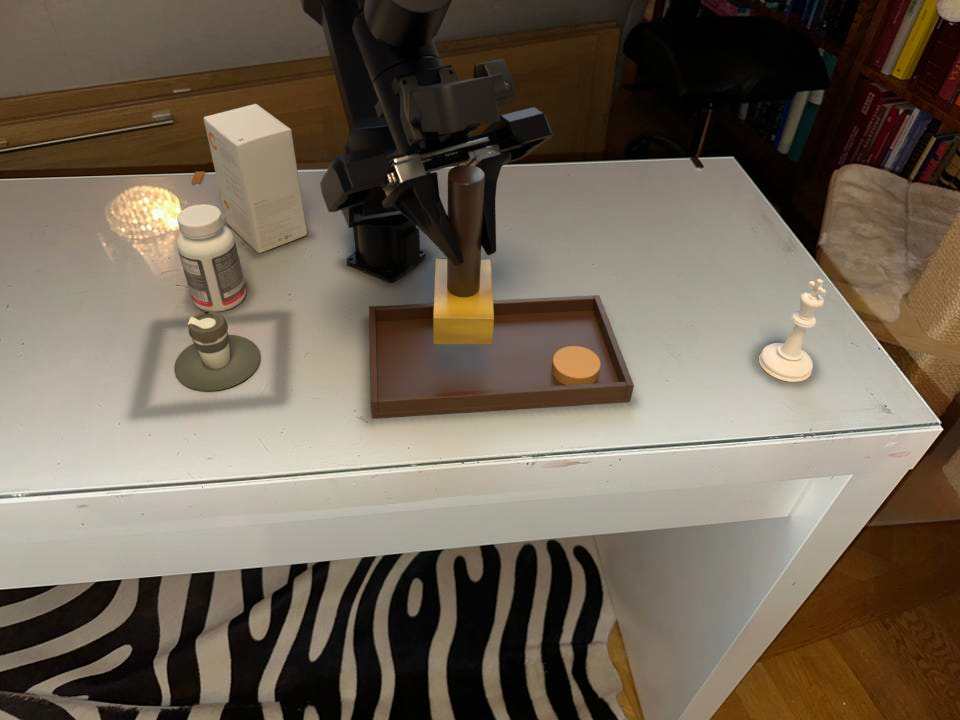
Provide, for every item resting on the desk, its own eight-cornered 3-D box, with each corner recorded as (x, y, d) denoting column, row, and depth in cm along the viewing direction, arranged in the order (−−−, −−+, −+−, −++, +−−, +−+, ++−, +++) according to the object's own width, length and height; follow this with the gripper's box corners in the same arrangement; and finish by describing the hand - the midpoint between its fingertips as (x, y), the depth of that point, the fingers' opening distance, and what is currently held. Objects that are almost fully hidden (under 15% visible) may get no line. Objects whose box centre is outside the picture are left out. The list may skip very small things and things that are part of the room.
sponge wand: (435, 284, 69) (434, 146, 59) (489, 285, 70) (497, 148, 60) (433, 344, 64) (432, 202, 54) (492, 344, 64) (501, 204, 54)
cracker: (542, 373, 70) (543, 363, 69) (568, 348, 72) (569, 339, 71) (582, 394, 68) (584, 385, 67) (607, 368, 70) (609, 359, 69)
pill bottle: (243, 277, 80) (225, 196, 73) (250, 307, 76) (231, 225, 70) (190, 287, 78) (167, 204, 72) (194, 318, 75) (170, 234, 68)
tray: (372, 418, 65) (370, 401, 64) (370, 322, 75) (368, 305, 74) (630, 402, 68) (634, 385, 67) (596, 310, 78) (599, 294, 76)
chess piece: (784, 388, 70) (821, 304, 63) (747, 356, 73) (778, 272, 66) (822, 372, 72) (862, 289, 65) (785, 342, 75) (819, 259, 68)
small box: (308, 236, 86) (293, 128, 77) (258, 255, 83) (235, 145, 74) (274, 206, 91) (256, 101, 82) (225, 223, 87) (200, 116, 79)
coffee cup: (280, 400, 67) (272, 359, 63) (139, 413, 65) (122, 372, 62) (284, 315, 75) (276, 275, 72) (159, 325, 74) (145, 284, 70)
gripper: (318, 45, 48) (404, 273, 49) (551, 3, 56) (622, 201, 57) (288, 113, 59) (360, 301, 59) (489, 69, 66) (550, 236, 67)
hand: (476, 259), depth 60 cm, fingers closed on sponge wand, 3 cm apart
